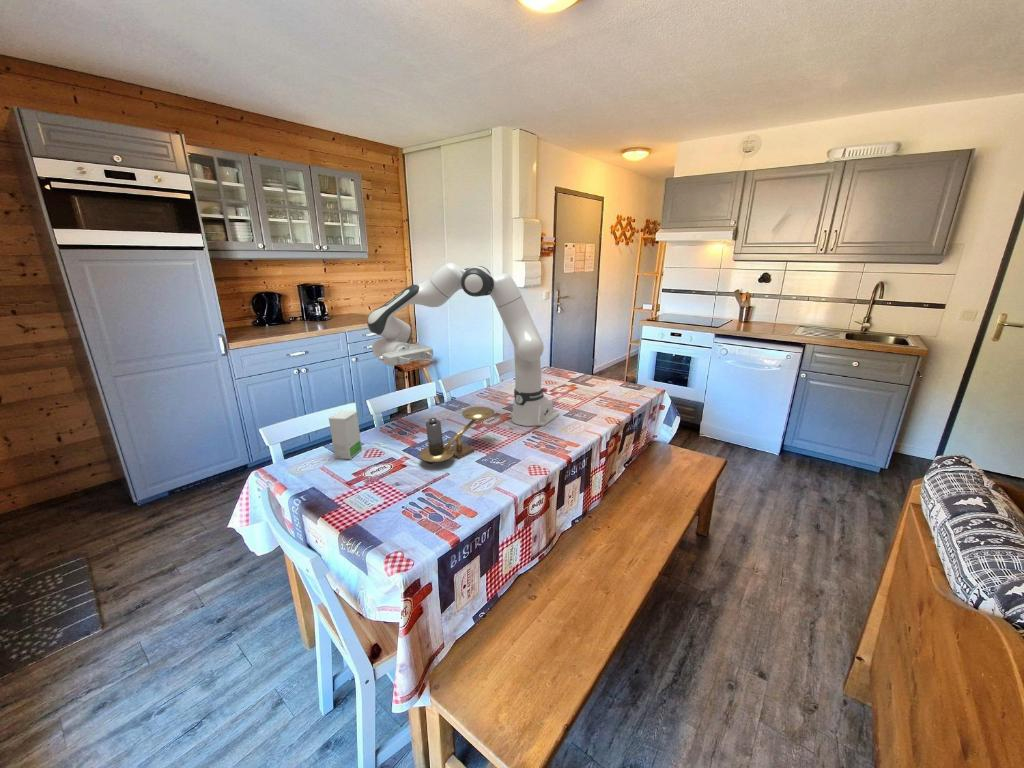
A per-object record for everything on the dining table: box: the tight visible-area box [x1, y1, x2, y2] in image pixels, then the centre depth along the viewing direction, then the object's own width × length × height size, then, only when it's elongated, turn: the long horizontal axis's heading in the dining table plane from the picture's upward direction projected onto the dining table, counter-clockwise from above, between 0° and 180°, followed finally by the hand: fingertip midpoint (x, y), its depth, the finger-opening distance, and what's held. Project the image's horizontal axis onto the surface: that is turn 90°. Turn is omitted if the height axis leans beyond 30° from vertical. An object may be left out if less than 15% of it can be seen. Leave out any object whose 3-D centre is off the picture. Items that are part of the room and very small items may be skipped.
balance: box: [418, 406, 495, 463], centre depth 148 cm, size 32×12×13 cm, turn 138°
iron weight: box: [425, 417, 444, 456], centre depth 139 cm, size 5×5×12 cm
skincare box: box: [328, 410, 363, 460], centre depth 146 cm, size 8×7×16 cm
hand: (420, 358), depth 153 cm, fingers open, 8 cm apart
